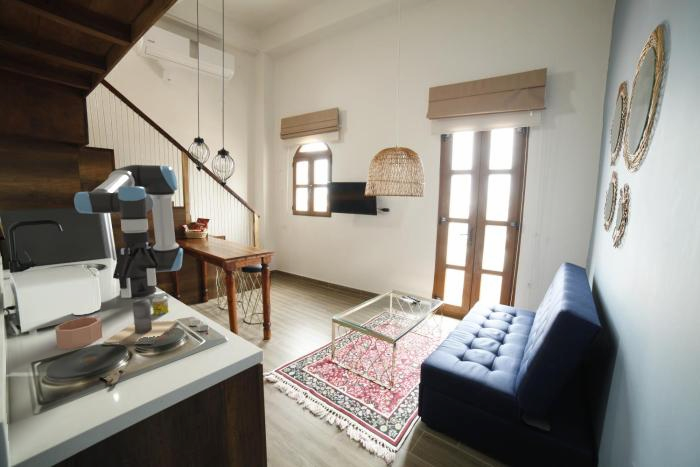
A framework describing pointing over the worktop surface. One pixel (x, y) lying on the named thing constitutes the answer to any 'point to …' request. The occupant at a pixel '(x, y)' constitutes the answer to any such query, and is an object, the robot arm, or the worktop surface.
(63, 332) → the terracotta bowl
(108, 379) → the jawbone
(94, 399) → the worktop surface
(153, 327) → the oak lid
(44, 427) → the worktop surface
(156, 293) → the supplement bottle
